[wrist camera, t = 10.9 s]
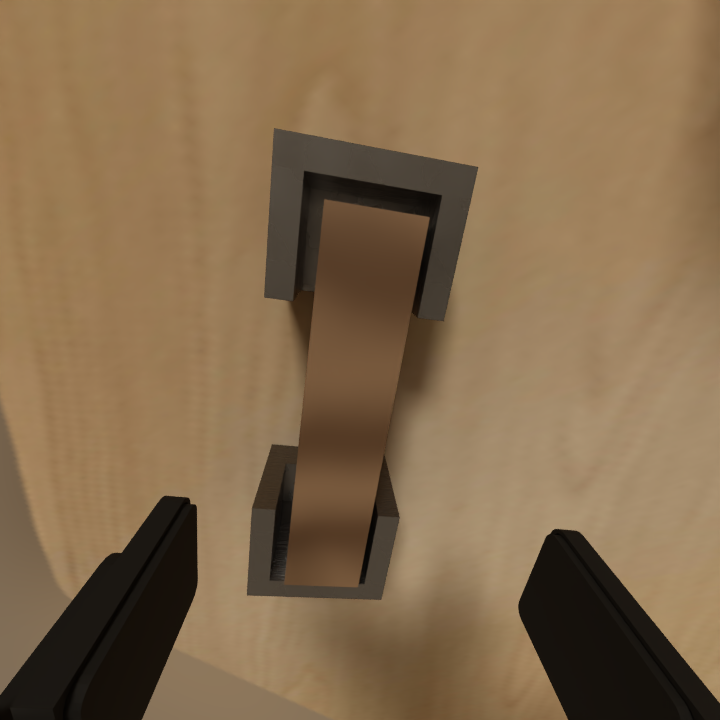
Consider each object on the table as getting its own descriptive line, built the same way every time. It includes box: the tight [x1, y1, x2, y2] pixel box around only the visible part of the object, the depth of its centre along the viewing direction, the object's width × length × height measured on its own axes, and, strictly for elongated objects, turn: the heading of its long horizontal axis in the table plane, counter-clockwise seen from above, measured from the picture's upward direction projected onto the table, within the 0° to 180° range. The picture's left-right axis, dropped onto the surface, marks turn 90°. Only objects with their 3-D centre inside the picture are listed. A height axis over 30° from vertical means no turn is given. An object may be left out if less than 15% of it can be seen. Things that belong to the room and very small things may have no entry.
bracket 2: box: [247, 445, 400, 600], centre depth 22 cm, size 6×8×6 cm
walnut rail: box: [284, 199, 430, 587], centre depth 18 cm, size 19×4×5 cm, turn 172°
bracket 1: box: [264, 128, 478, 321], centre depth 17 cm, size 6×8×6 cm
